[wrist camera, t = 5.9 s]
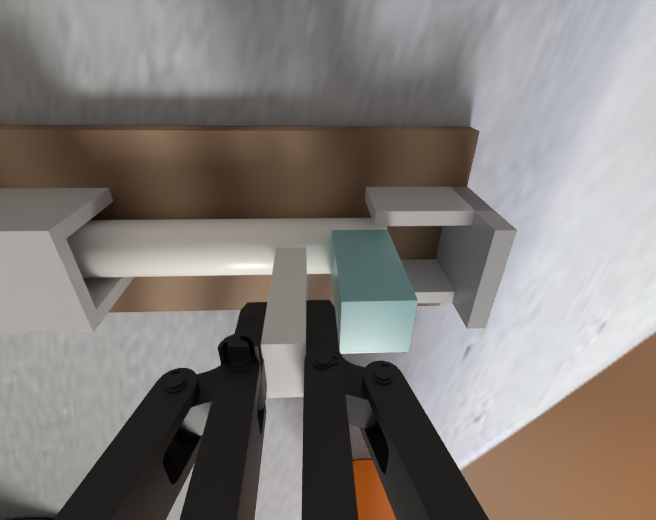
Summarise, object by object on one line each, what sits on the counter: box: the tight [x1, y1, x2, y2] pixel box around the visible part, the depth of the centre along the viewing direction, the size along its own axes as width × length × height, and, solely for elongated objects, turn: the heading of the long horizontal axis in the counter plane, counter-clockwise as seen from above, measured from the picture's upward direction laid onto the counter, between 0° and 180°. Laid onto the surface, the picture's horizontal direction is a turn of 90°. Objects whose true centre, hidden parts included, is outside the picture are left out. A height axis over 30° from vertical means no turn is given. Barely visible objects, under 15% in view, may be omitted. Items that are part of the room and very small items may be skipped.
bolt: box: [67, 218, 418, 354], centre depth 18 cm, size 20×3×9 cm, turn 89°
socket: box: [365, 186, 517, 328], centre depth 20 cm, size 6×6×6 cm
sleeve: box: [0, 188, 134, 334], centre depth 19 cm, size 9×6×5 cm, turn 89°
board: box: [0, 125, 479, 312], centre depth 22 cm, size 30×12×1 cm, turn 89°
